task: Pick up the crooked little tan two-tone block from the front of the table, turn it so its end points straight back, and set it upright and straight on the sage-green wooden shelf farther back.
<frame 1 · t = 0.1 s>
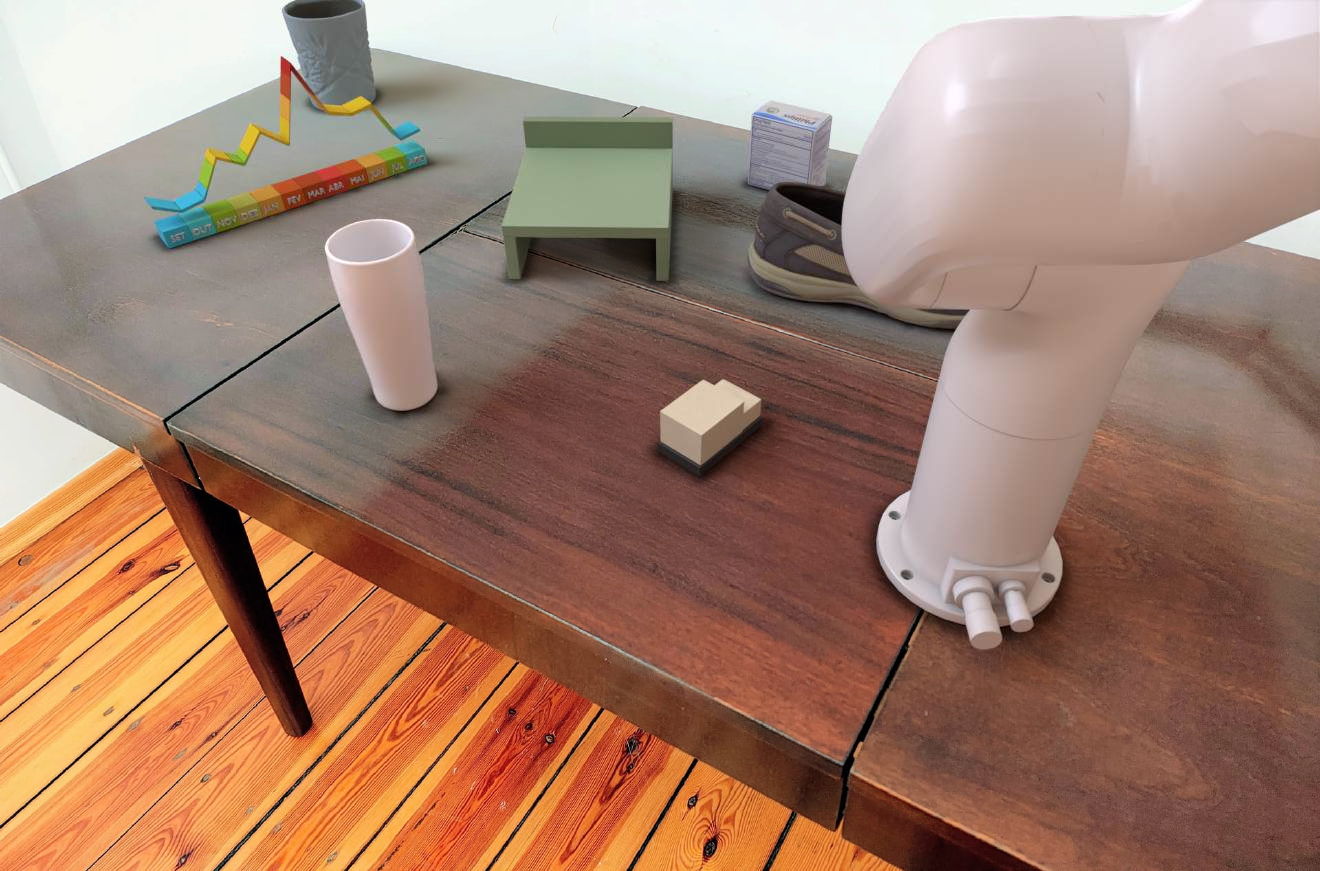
chart: (302, 200, 106), on the table
drinking glass 2: (407, 395, 80), on the table
boat shoe: (893, 296, 91), on the table
shelf: (595, 233, 100), on the table
medicine box: (785, 188, 107), on the table
tan two-tone block: (710, 438, 76), on the table
gray embossed pot: (345, 99, 127), on the table
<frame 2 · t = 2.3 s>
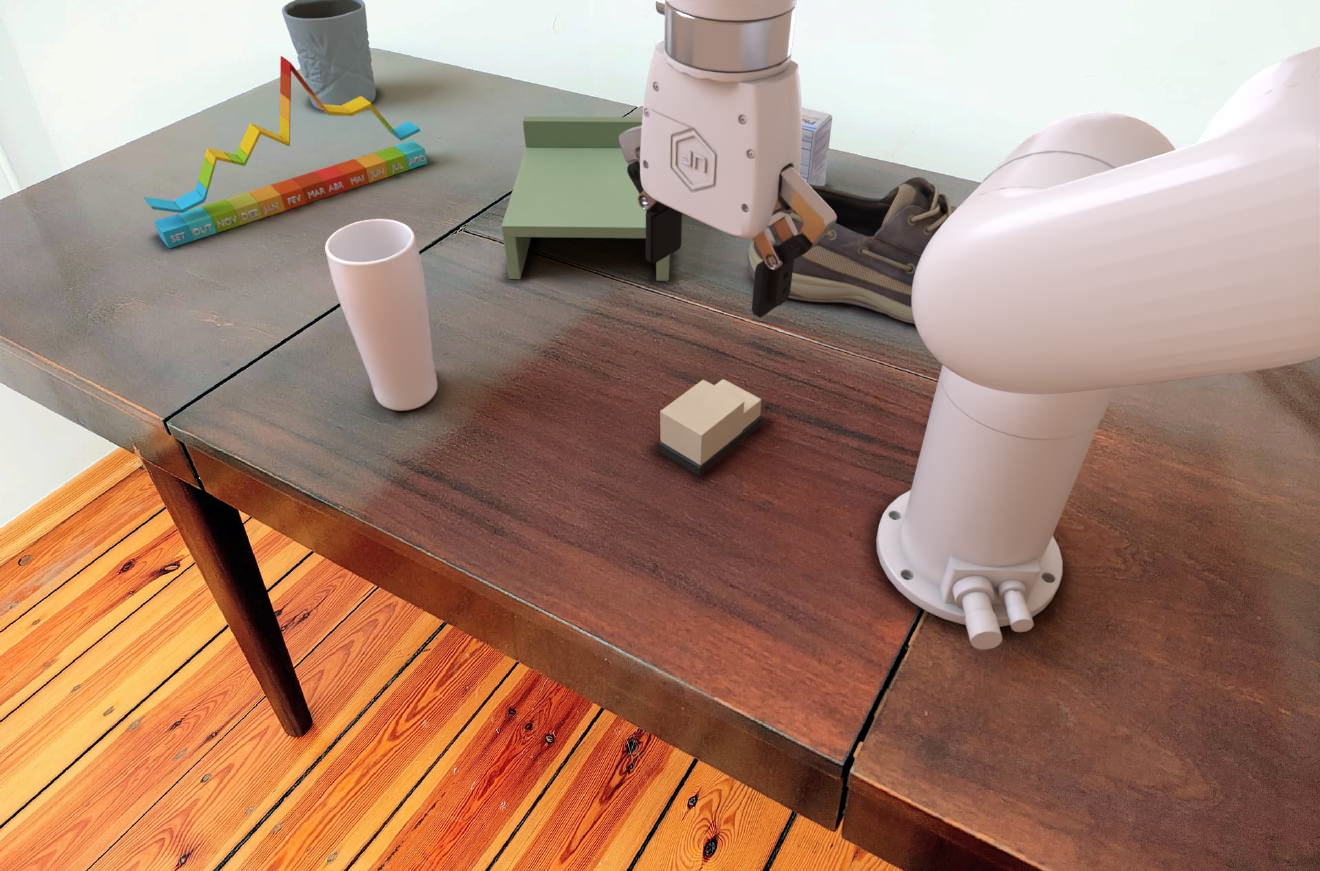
hand: (714, 280, 66), 15 cm above the table, tool pointing down, fingers open, 9 cm apart
nothing on the table moved.
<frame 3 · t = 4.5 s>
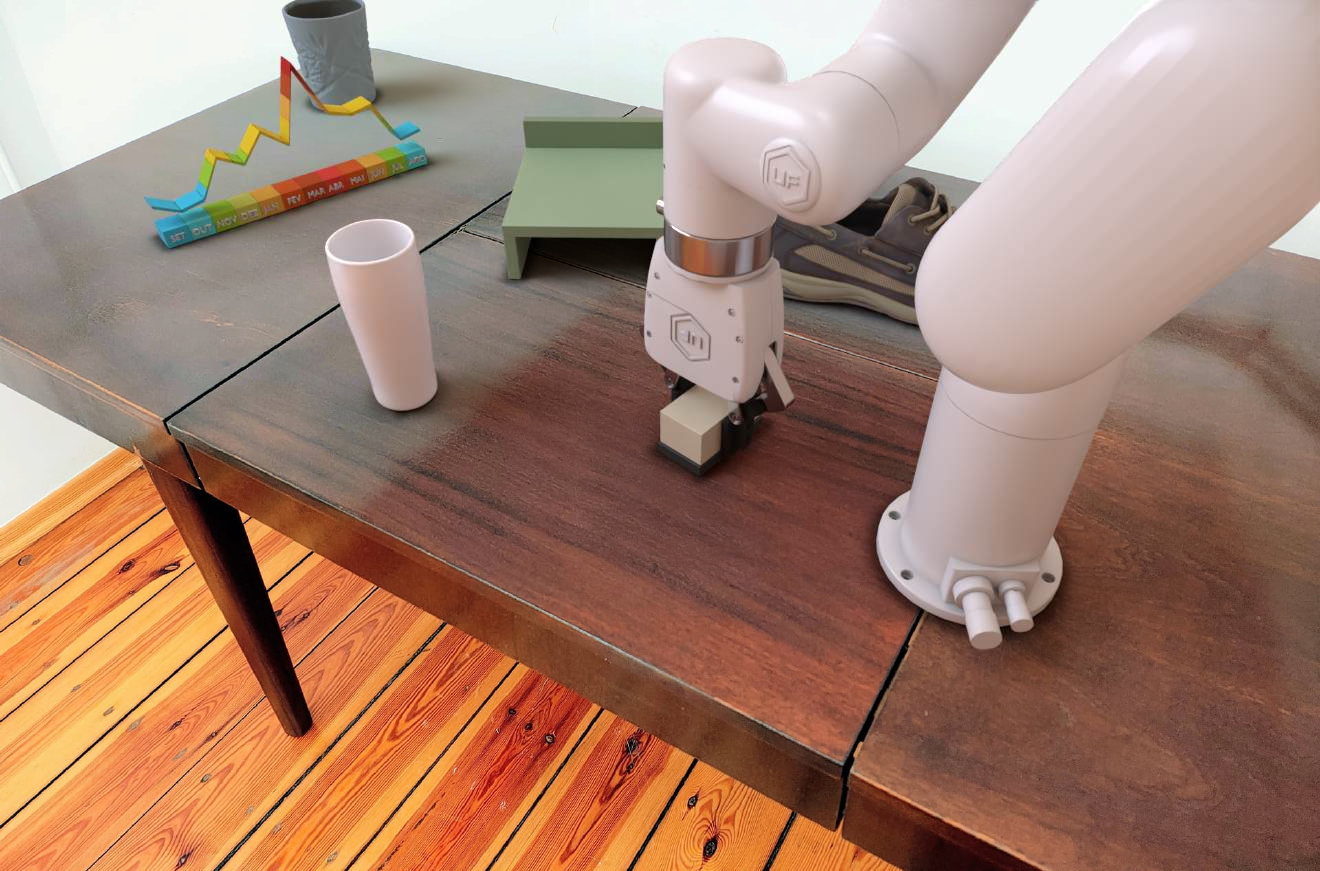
hand: (710, 433, 75), 1 cm above the table, tool pointing down, fingers closed on tan two-tone block, 4 cm apart
tan two-tone block: (710, 438, 76), on the table, touching gripper
everything else where it was.
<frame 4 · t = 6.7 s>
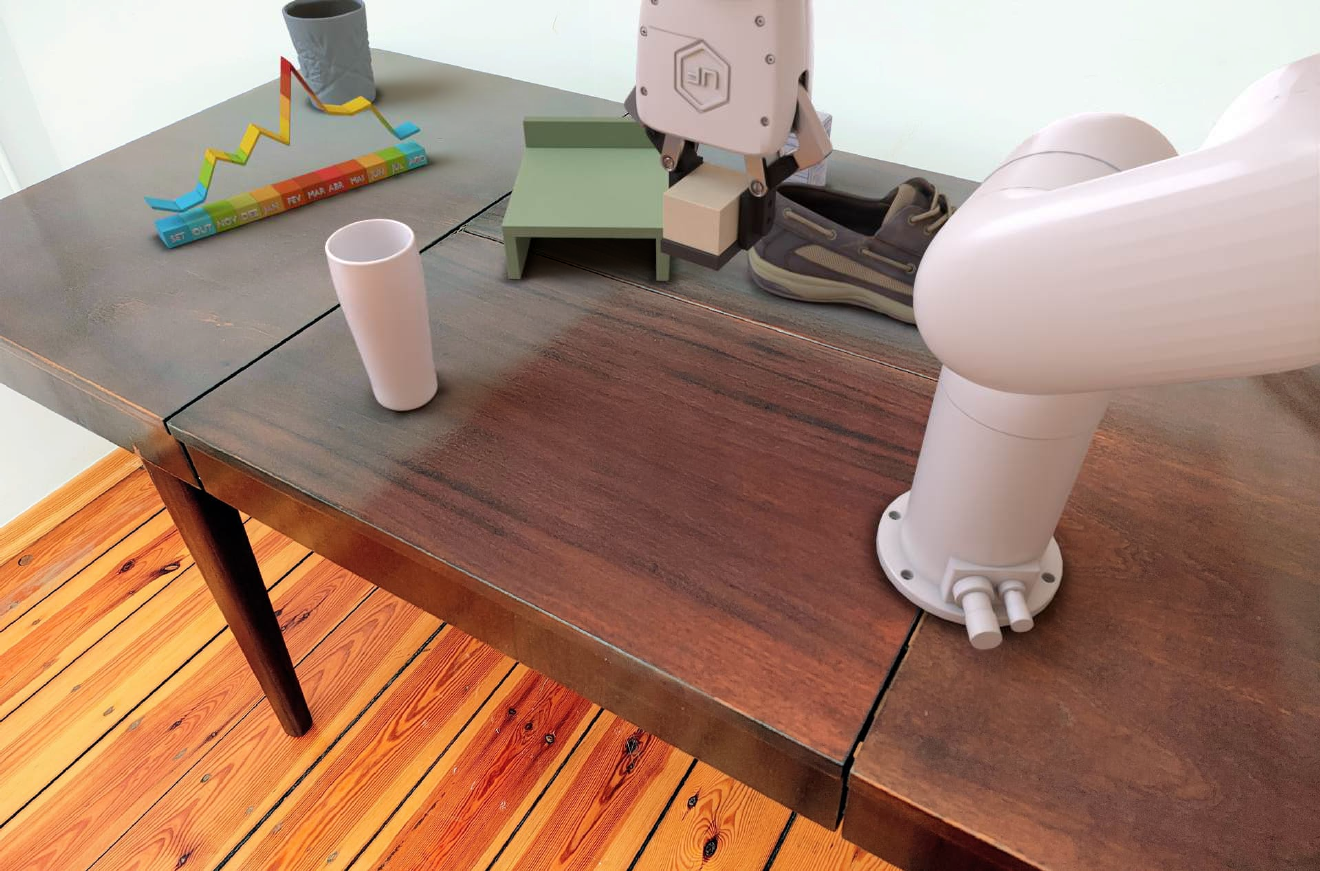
hand: (719, 227, 63), 19 cm above the table, tool pointing down, fingers closed on tan two-tone block, 4 cm apart
tan two-tone block: (719, 235, 63), point 19 cm above the table, touching gripper
everything else where it was.
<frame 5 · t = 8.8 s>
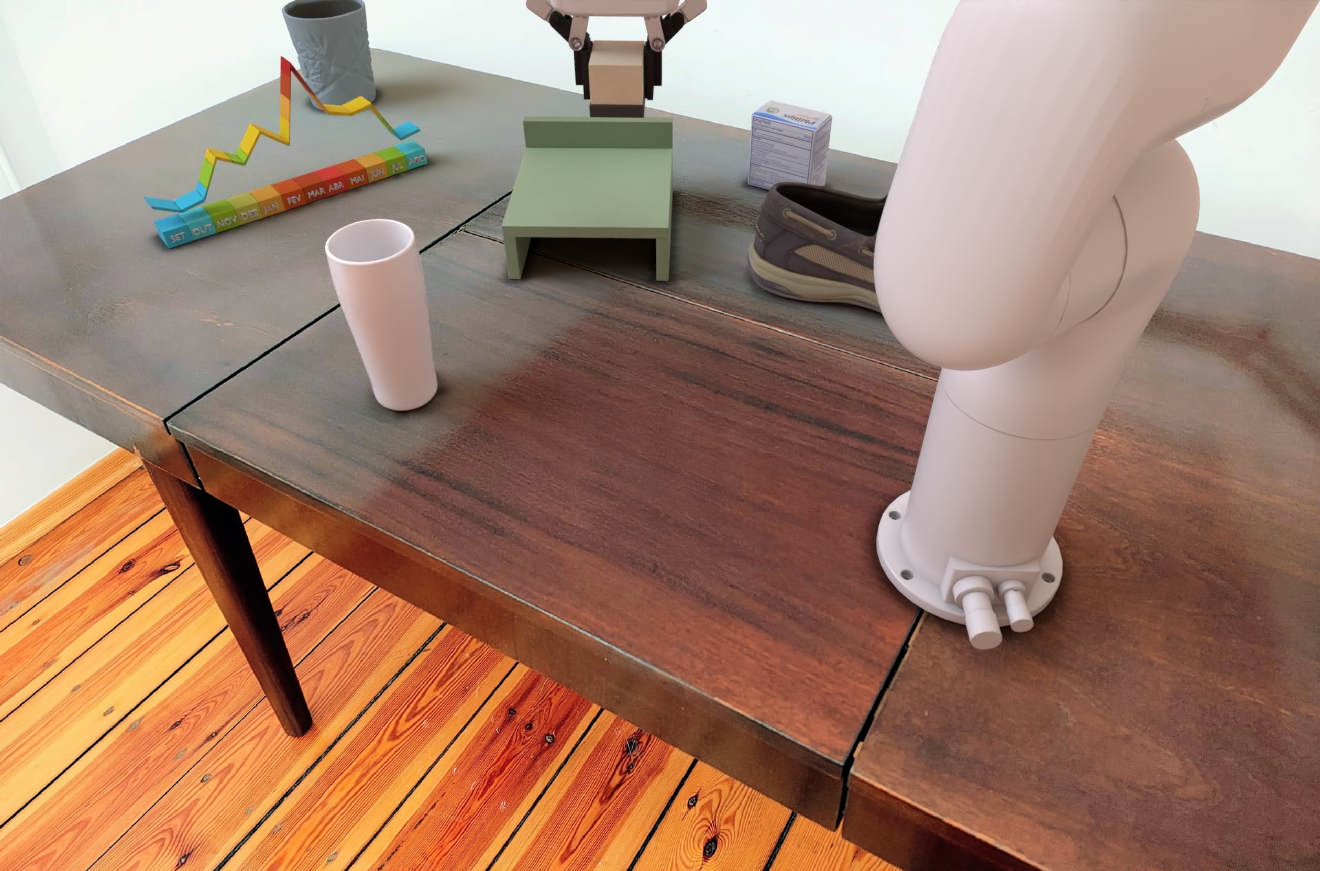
hand: (619, 91, 78), 20 cm above the table, tool pointing down, fingers closed on tan two-tone block, 4 cm apart
tan two-tone block: (619, 97, 78), point 19 cm above the table, touching gripper
everything else where it was.
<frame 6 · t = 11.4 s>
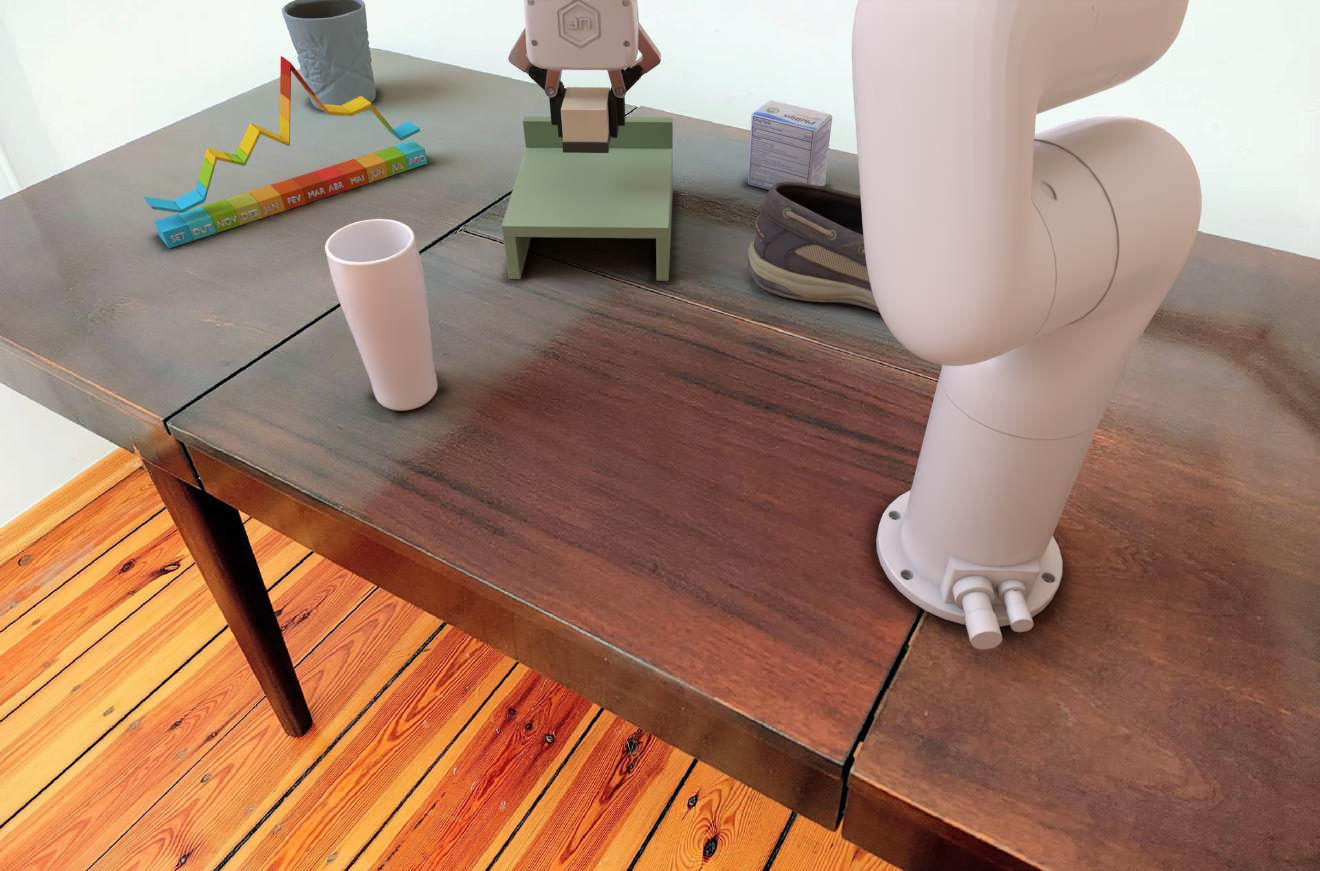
hand: (589, 130, 92), 12 cm above the table, tool pointing down, fingers closed on tan two-tone block, 4 cm apart
tan two-tone block: (589, 134, 92), point 11 cm above the table, touching gripper
everything else where it was.
when the fingers open (7 cm above the table, at t = 13.0 s): tan two-tone block stays where it is, resting on shelf.
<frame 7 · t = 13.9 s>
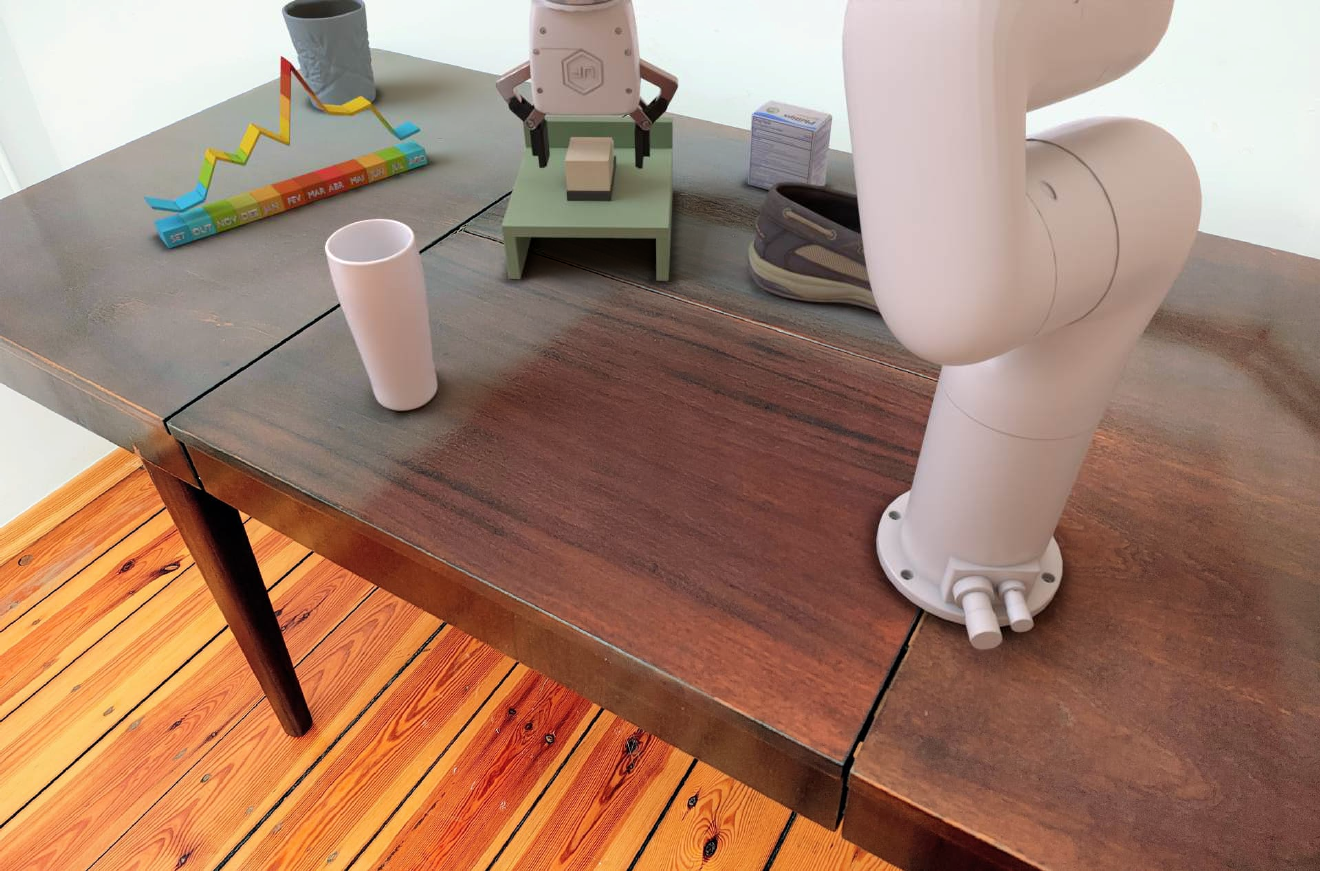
hand: (592, 162, 94), 8 cm above the table, tool pointing down, fingers open, 9 cm apart
tan two-tone block: (592, 182, 95), point 6 cm above the table, touching shelf
everything else where it was.
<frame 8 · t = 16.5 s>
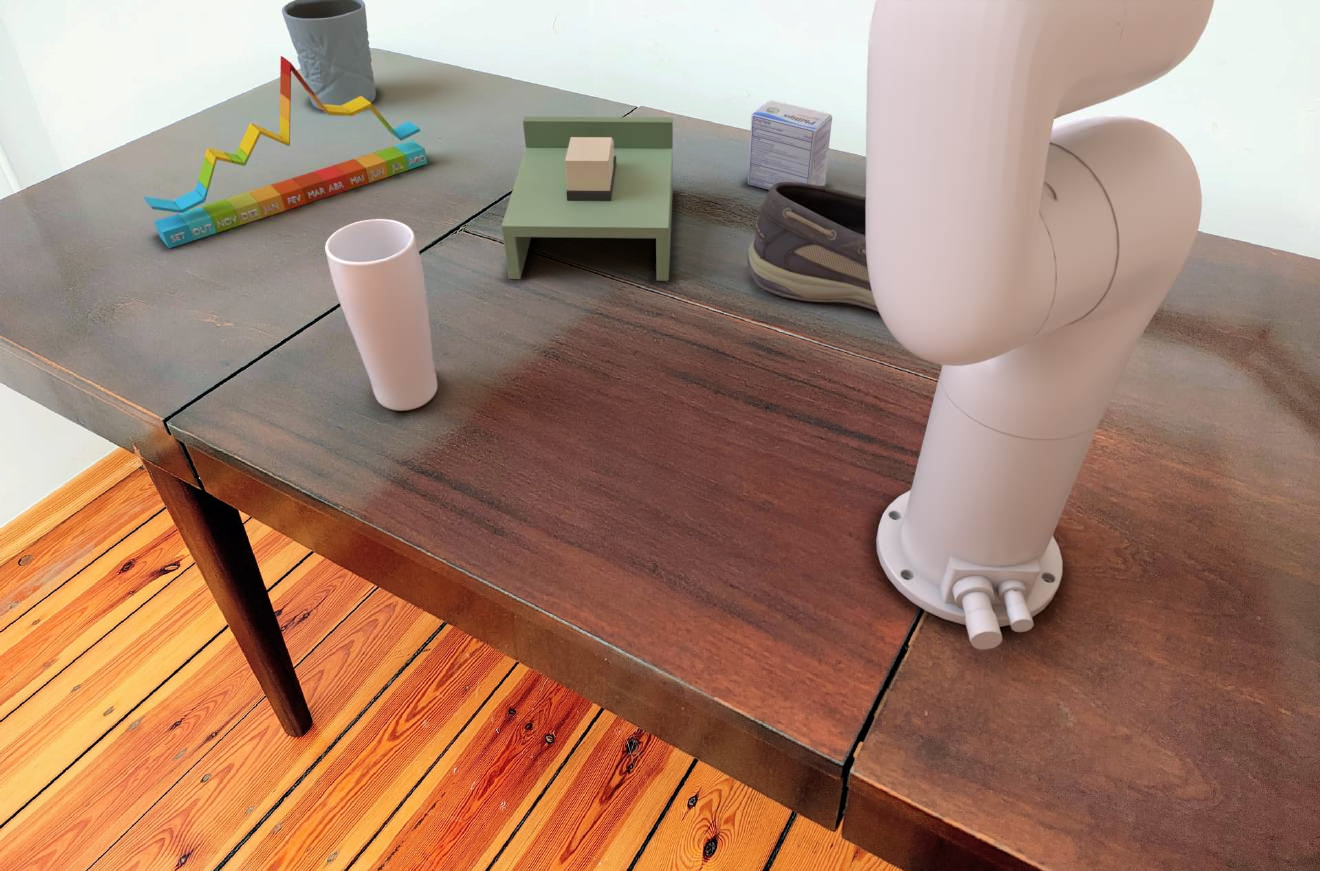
nothing on the table moved.
at the end: tan two-tone block inside the target area on the shelf (0.0 cm from its centre), point 6.0 cm above the shelf's base; tan two-tone block tilted 0°; the gripper is holding nothing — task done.
